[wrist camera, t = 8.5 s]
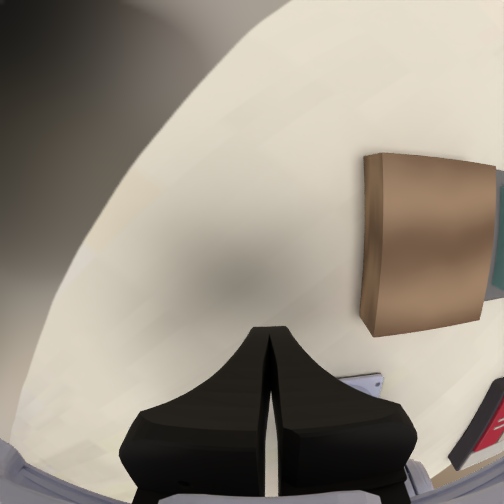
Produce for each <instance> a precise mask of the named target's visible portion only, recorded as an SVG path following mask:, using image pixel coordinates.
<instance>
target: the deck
mask: <svg viewBox="0 0 504 504" xmlns="http://www.w3.org/2000/svg"><path fill="white" fill-rule="evenodd" d="M364 174H365V241H364V265H363V281H362V294H361V306H360V317H361V319H362V320H363V322H364V323H365V325H366V327H367V328H368V330H369V331H370V333H371V335H372V336H373V337H382V336H390V335H397V334H404V333H411V332H418V331H424V330H430V329H436V328H441V327H447V326H452V325H457V324H462V323H467V322H472V321H477V320H479V319H480V315H481V311H482V307H483V302H484V298H485V293H486V288H487V282H488V276H489V270H490V264H491V256H492V248H493V239H494V227H495V211H496V166H492V165H486V164H480V163H474V162H467V161H460V160H453V159H445V158H437V157H428V156H418V155H407V154H394V153H378V154H373V155H369V156H364Z"/></svg>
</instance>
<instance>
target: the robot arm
mask: <svg viewBox="0 0 504 504" xmlns="http://www.w3.org/2000/svg"><path fill="white" fill-rule="evenodd" d="M383 380H384V377H383V376H382V374H374V375H367V376H359V377H351V378H343V379H337V378H335V377H334V376H332V375H331V374H330V373H328V372H327V371H326V370H324V369H323V368H322V367H320V366H319V365H318V364H317V363H316V362H315V361H314V360H313V359H312V358H311V357H310V356H309V355H308V354H307V353H306V352H305V351H304V349H303V348H302V347H301V346H300V345H299V344H298V342H297V341H296V340H295V338H294V337H293V336H292V334H291V333H290V331H289V329H288V328H287V327H286V326H272V327H253V328H252V329H251V330H250V332H249V334H248V336H247V337H246V339H245V340H244V342H243V343H242V345H241V346H240V347H239V348H238V350H237V351H236V352H235V354H234V355H233V356H232V357H231V358H230V359H229V360H228V361H227V363H226V364H225V365H224V366H223V367H222V368H221V369H220V370H219V371H217V372H216V373H215V374H214V375H213V376H212V377H210V378H209V379H208V380H206V381H205V382H203V383H202V384H200V385H199V386H197V387H196V388H194V389H193V390H191V391H189V392H188V393H186V394H184V395H182V396H180V397H178V398H176V399H174V400H171V401H169V402H167V403H164V404H161V405H159V406H156V407H153V408H150V409H147V410H144V411H140V413H139V414H138V416H137V417H136V419H135V420H134V422H133V423H132V425H131V427H130V429H129V431H128V433H127V435H126V437H125V439H124V441H123V443H122V445H121V447H120V449H119V457H120V460H121V462H122V464H123V466H124V467H125V469H126V471H127V472H128V474H129V475H130V477H131V478H132V480H133V481H134V483H135V484H136V486H137V487H138V488H137V491H136V494H135V496H134V499H133V502H132V504H504V456H503V457H502V458H500V459H498V460H496V461H495V462H493V463H491V464H489V465H487V466H485V467H483V468H481V469H480V470H477V471H475V472H473V473H471V474H469V475H467V476H465V477H463V478H460V479H458V480H456V481H453V482H451V483H449V484H446V485H444V486H441V487H439V488H436V489H434V488H433V485H432V483H431V480H430V478H429V476H428V473H427V471H426V469H425V468H424V466H423V465H422V463H421V462H418V461H414V460H413V459H409V457H410V455H411V453H412V451H413V450H414V448H415V445H416V442H417V432H416V430H415V428H414V426H413V424H412V422H411V420H410V418H409V417H408V415H407V414H406V412H405V411H404V409H403V408H402V406H401V405H400V404H398V403H394V402H391V401H387V400H384V399H380V398H379V396H380V392H381V388H382V384H383ZM378 382H379V383H378ZM376 383H378V384H376ZM270 393H271V394H272V402H273V409H274V416H275V423H276V430H277V440H278V497H265V440H266V429H267V420H268V412H269V403H270ZM408 459H409V460H408ZM404 466H405V467H404ZM0 504H130V503H127V502H123V501H120V500H116V499H113V498H110V497H107V496H103V495H100V494H98V493H95V492H92V491H89V490H86V489H84V488H81V487H78V486H76V485H73V484H71V483H69V482H66V481H64V480H61V479H59V478H57V477H55V476H53V475H50V474H48V473H46V472H44V471H42V470H40V469H38V468H36V467H34V466H32V465H30V464H28V463H27V462H25V460H24V458H23V457H22V455H21V454H20V453H19V452H18V451H17V450H16V449H15V448H14V447H13V446H12V445H10V444H9V443H7V442H5V441H4V440H2V439H0Z"/></svg>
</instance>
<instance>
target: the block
mask: <svg viewBox="0 0 504 504" xmlns="http://www.w3.org/2000/svg"><path fill="white" fill-rule="evenodd" d="M492 285H494V286H496V287H497V288H499V289H501V290H502V291H504V187H503V186H501V205H500V224H499V237H498V246H497V255H496V262H495V269H494V275H493V281H492Z"/></svg>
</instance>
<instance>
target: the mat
mask: <svg viewBox="0 0 504 504" xmlns="http://www.w3.org/2000/svg"><path fill="white" fill-rule="evenodd" d="M501 186H503V187H504V171H501V170H496V211H495V227H494V239H493V248H492V256H491V264H490V270H489V276H488V282H487V288H486V293H485V298H484V301H488V300H493V299H499V298H504V291H502V290H501V289H499V288H497V287H496V286H494V285H492V281H493V275H494V269H495V262H496V255H497V246H498V237H499V224H500V205H501Z"/></svg>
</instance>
